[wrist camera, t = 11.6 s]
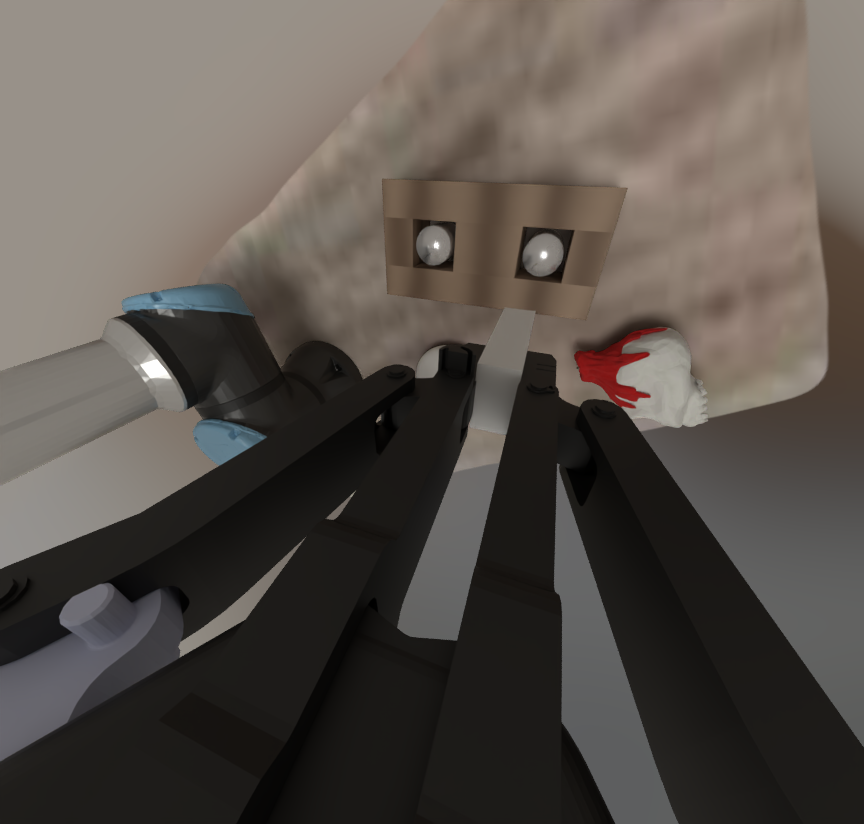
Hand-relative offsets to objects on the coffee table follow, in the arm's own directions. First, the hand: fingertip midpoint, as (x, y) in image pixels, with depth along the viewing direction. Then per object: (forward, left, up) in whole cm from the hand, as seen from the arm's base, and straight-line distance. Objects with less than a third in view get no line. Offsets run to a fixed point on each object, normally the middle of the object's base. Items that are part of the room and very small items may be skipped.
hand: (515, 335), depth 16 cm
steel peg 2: (0, 0, -28) cm, 28 cm away
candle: (+14, -12, -29) cm, 34 cm away
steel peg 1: (-12, 0, -28) cm, 30 cm away
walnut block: (-6, 0, -28) cm, 29 cm away
